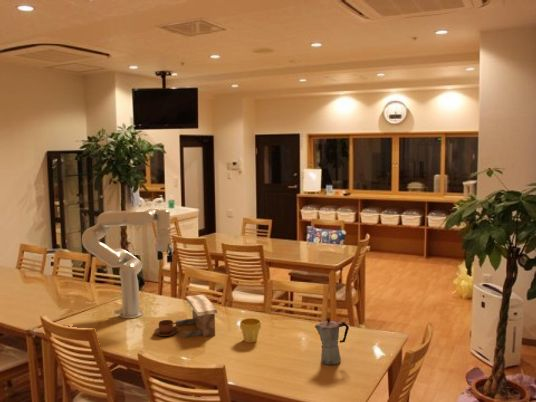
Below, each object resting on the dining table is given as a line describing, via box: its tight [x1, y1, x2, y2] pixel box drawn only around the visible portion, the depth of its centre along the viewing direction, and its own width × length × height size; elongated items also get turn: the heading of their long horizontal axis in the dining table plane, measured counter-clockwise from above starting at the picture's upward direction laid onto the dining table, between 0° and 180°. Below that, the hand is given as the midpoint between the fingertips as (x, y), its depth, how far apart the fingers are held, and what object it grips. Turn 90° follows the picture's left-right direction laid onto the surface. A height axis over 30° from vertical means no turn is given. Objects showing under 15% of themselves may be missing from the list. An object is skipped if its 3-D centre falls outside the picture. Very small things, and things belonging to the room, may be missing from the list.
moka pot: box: [314, 318, 350, 366], centre depth 227 cm, size 10×15×20 cm, turn 95°
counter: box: [175, 294, 218, 338], centre depth 269 cm, size 17×28×14 cm, turn 21°
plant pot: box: [239, 317, 262, 344], centre depth 253 cm, size 10×10×10 cm
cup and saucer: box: [153, 319, 179, 337], centre depth 264 cm, size 12×12×6 cm
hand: (164, 260), depth 288 cm, fingers open, 9 cm apart
